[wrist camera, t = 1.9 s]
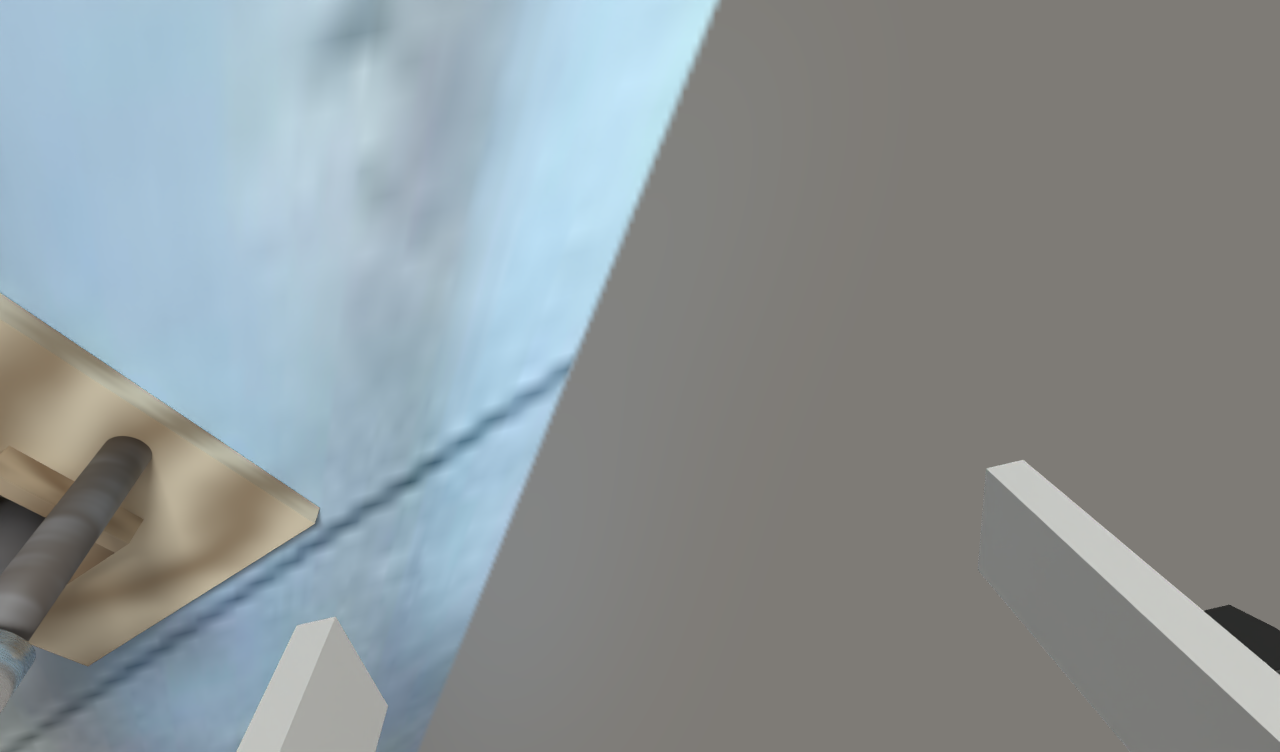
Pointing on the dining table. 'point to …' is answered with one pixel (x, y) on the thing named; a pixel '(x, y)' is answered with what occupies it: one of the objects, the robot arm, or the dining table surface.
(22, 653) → the latch
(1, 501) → the peg
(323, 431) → the dining table surface
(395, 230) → the dining table surface
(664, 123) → the dining table surface
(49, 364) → the socket plate
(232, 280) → the dining table surface
